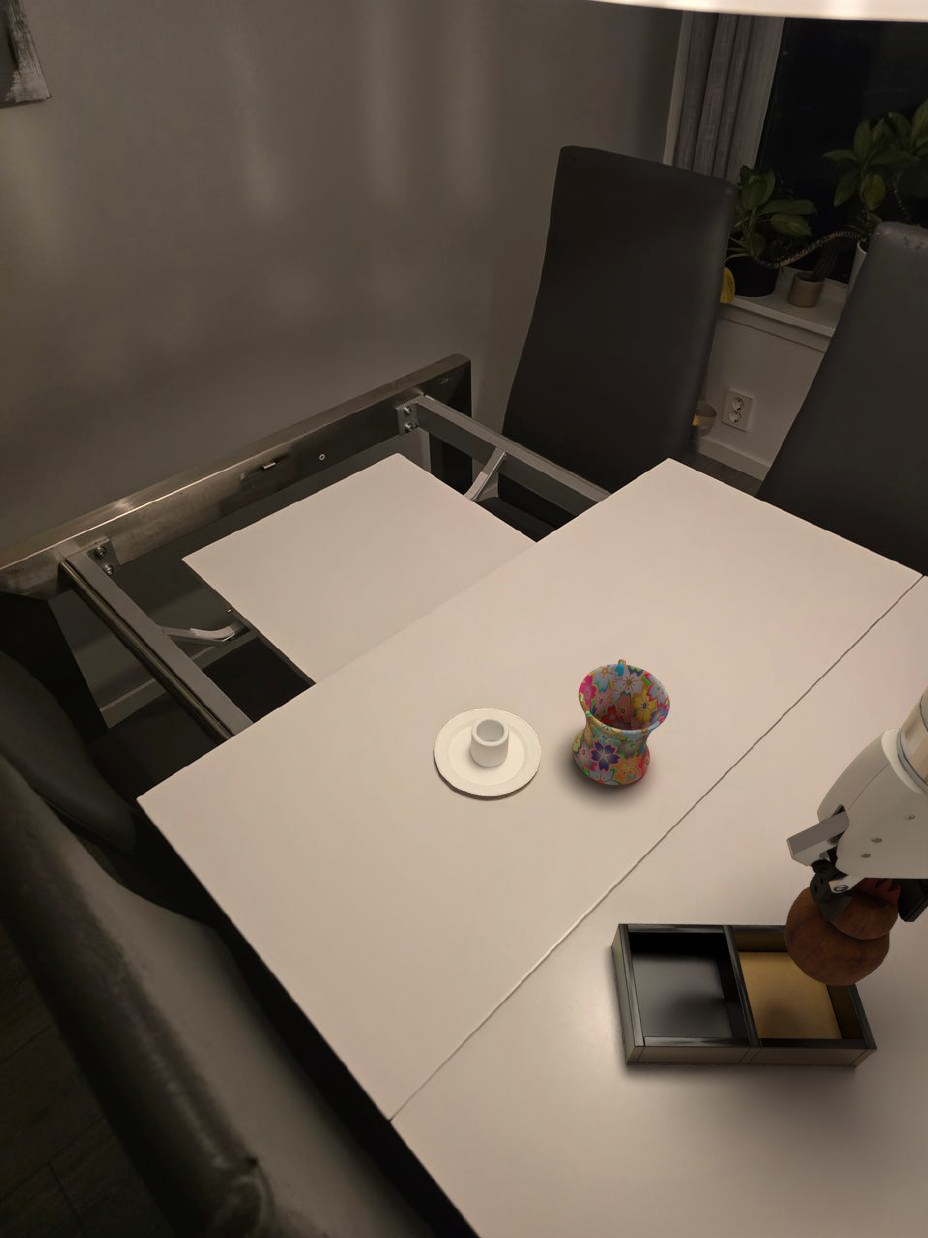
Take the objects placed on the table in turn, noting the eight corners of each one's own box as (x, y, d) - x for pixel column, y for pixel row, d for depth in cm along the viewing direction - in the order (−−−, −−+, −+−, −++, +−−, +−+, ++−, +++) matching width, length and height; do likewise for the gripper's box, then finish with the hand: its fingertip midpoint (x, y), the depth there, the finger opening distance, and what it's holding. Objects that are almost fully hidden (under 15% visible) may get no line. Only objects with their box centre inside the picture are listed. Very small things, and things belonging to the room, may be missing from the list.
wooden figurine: (760, 951, 62) (820, 858, 52) (795, 902, 65) (859, 804, 55) (840, 1015, 59) (922, 929, 48) (874, 960, 62) (958, 868, 51)
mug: (652, 798, 84) (671, 738, 77) (566, 786, 85) (576, 726, 78) (651, 711, 93) (667, 650, 85) (572, 702, 94) (582, 640, 86)
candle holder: (434, 801, 84) (433, 778, 81) (433, 713, 92) (433, 689, 89) (546, 798, 84) (549, 775, 81) (535, 710, 93) (537, 687, 90)
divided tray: (819, 947, 73) (836, 925, 70) (857, 1067, 66) (877, 1049, 62) (611, 944, 73) (618, 923, 70) (626, 1064, 66) (634, 1046, 63)
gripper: (1097, 696, 45) (956, 854, 58) (804, 693, 45) (728, 852, 58) (1180, 810, 40) (1005, 956, 53) (848, 807, 40) (754, 953, 53)
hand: (861, 900), depth 55 cm, fingers closed on wooden figurine, 4 cm apart
